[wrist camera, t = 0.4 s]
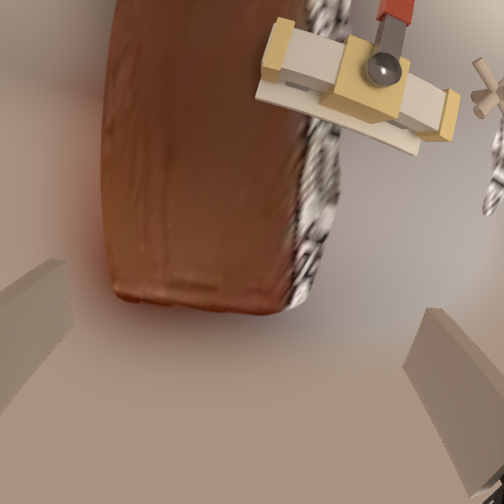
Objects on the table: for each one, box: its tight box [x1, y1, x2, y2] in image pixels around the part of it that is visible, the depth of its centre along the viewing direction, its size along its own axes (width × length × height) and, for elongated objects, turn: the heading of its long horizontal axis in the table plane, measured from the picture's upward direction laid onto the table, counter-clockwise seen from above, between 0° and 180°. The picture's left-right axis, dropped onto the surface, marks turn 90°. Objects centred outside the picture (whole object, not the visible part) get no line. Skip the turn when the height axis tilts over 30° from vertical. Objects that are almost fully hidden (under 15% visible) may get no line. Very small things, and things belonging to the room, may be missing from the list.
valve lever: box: [363, 0, 415, 89], centre depth 21 cm, size 12×3×2 cm, turn 164°
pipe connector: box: [471, 58, 504, 119], centre depth 26 cm, size 10×10×10 cm
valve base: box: [255, 17, 461, 156], centre depth 28 cm, size 9×20×10 cm, turn 74°
